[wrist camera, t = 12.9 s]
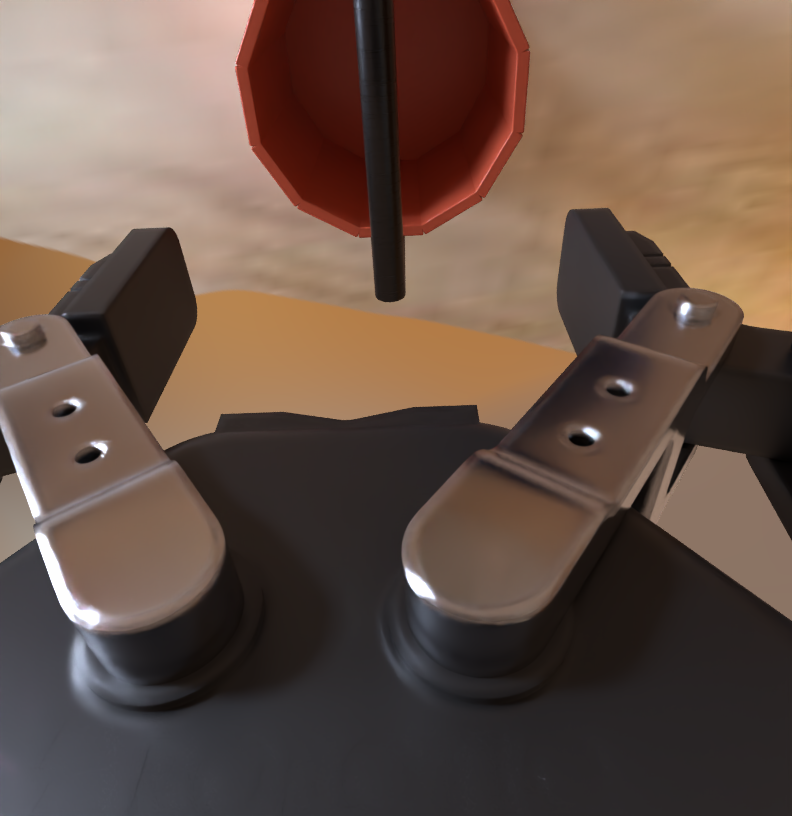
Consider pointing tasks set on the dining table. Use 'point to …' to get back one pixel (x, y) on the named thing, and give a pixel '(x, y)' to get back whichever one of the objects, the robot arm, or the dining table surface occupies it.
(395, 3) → the red bucket
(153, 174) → the dining table surface
